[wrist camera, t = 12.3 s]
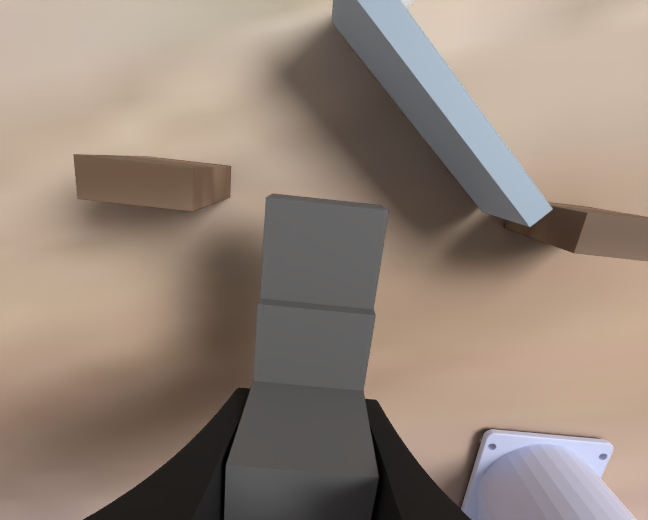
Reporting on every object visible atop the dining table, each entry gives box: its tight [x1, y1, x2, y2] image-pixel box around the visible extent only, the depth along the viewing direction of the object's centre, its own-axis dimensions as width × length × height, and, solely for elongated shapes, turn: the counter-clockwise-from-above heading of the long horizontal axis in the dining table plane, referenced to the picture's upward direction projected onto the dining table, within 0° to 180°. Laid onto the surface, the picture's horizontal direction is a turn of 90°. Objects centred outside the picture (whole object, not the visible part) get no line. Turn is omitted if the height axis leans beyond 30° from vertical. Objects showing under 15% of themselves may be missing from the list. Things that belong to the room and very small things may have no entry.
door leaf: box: [332, 0, 553, 227], centre depth 13 cm, size 2×11×4 cm, turn 43°
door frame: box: [73, 154, 648, 261], centre depth 14 cm, size 2×22×5 cm, turn 83°
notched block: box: [224, 194, 389, 520], centre depth 11 cm, size 10×4×6 cm, turn 174°
